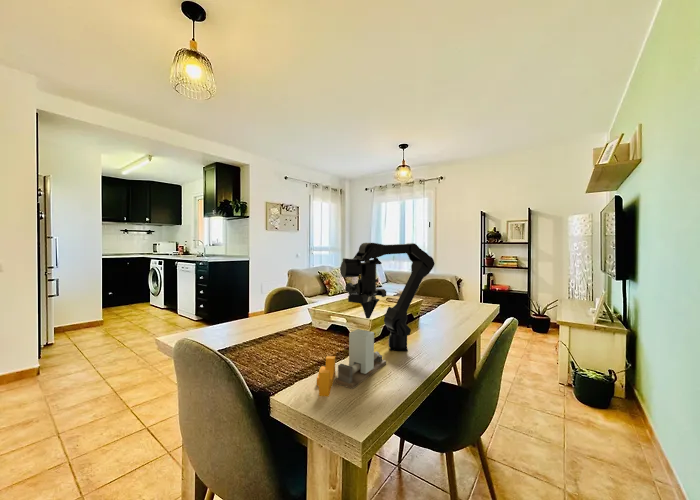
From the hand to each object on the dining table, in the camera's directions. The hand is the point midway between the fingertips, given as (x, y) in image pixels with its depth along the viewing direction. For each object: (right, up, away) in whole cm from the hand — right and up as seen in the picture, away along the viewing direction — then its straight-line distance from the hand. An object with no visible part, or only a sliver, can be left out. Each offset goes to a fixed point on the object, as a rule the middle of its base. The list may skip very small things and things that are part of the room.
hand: (367, 318), depth 112 cm
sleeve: (-3, -12, -18) cm, 21 cm away
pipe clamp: (-14, -14, -25) cm, 32 cm away
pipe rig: (-3, -13, -17) cm, 22 cm away
